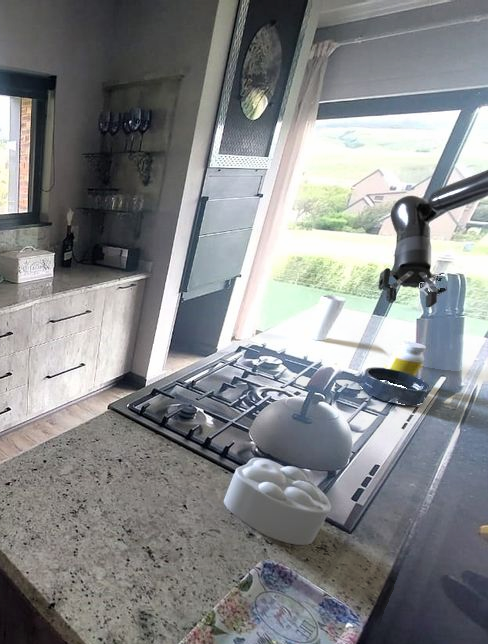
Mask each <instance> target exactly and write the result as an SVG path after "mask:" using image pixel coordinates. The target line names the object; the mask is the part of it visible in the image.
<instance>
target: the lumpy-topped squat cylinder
mask: <svg viewBox="0 0 488 644" xmlns="http://www.w3.org/2000/svg"><path fill="white" fill-rule="evenodd" d="M223 504H224V506H225V507H226V509H227V510H228V511H229V512H230V513H232V514H233V516H235V517H236V518H238V519H239V520H241V521H242V522H244V523H245V524H246V525H248V526H249V527H251V528H252V529H254V530H255V531H257V532H259V533H260V534H262V535H264V536H266V537H268V538H271V539H274V540H276V541H279V542H283V543H286V544H289V545H295V546H296V545H297V546H307V545H310V544H312V543H313V542H314V540H315V538H316V536H317V535H318V533H319V531H320V530H321V528H322V526H323V524H324V522H325V521H326V519H327V517H328V516H329V513H330V512H331V510H332V505H331V502H330V500H329V498H328V497H327V495H326V494H325V493H324V492H323V491H322V490H321V489H320V488H319V487H318V486H317V485H316V484H315V483H314V482H312V481H311V480H310V479H308V478H307V476H306V475H305V473H304V472H303V471H302V470H301V468H298V467H296V466H291V465H287V466H284V465H282V464H280V463H278V462H276V461H273V460H271V459H268V458H263V457H253V458H251V459H249V460H248V462H247V463H246V464H243V465H241V466H238V467H237V468H236V469H235V471H234V473H233V476H232V479H231V481H230V483H229V486H228V488H227V491H226V494H225V496H224V499H223Z"/></svg>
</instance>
